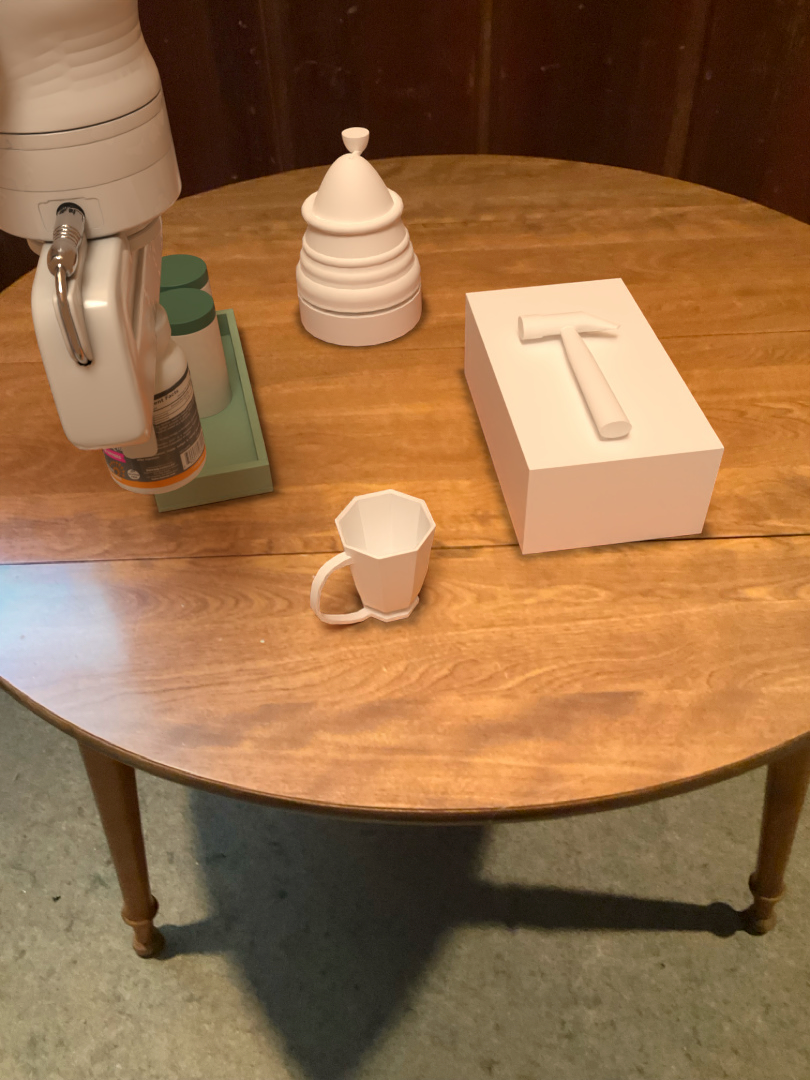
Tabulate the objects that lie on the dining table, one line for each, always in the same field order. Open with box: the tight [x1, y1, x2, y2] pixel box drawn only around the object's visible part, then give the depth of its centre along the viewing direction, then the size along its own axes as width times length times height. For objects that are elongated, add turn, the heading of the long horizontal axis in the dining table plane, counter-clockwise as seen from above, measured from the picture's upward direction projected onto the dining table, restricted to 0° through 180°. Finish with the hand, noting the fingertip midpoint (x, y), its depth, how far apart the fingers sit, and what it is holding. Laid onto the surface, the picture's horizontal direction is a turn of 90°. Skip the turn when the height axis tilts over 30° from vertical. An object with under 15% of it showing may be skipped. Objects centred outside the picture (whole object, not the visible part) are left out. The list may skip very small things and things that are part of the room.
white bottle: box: [159, 288, 232, 418], centre depth 84 cm, size 6×6×10 cm
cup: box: [309, 488, 437, 625], centre depth 66 cm, size 7×10×8 cm
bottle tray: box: [153, 308, 274, 513], centre depth 85 cm, size 26×10×3 cm, turn 14°
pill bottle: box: [101, 303, 206, 495], centre depth 51 cm, size 6×6×10 cm
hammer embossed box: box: [463, 277, 725, 555], centre depth 78 cm, size 14×25×11 cm, turn 8°
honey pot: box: [295, 126, 423, 347], centre depth 92 cm, size 13×13×18 cm
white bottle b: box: [160, 253, 214, 299], centre depth 88 cm, size 6×6×10 cm
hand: (145, 409), depth 52 cm, fingers closed on pill bottle, 6 cm apart
